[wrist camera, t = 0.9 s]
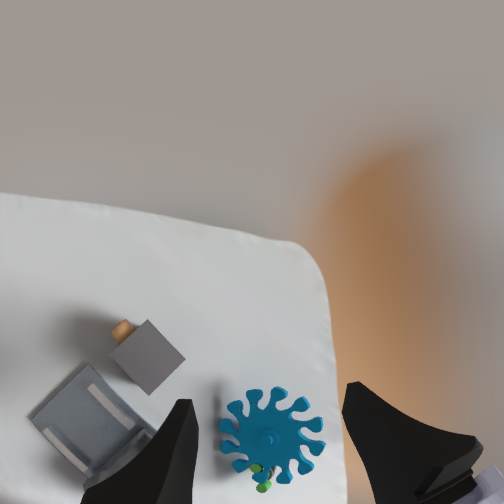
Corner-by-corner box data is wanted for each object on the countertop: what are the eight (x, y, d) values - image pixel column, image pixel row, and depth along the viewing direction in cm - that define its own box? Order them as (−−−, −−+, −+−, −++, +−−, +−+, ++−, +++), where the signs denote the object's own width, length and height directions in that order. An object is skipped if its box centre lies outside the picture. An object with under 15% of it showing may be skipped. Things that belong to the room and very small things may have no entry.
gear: (225, 376, 24) (335, 398, 20) (250, 374, 29) (341, 390, 25) (205, 476, 21) (305, 507, 17) (232, 460, 26) (317, 483, 22)
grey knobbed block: (145, 387, 23) (148, 395, 17) (106, 345, 22) (98, 342, 17) (174, 358, 25) (185, 359, 20) (136, 317, 25) (136, 306, 19)
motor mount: (127, 504, 17) (129, 539, 11) (32, 419, 16) (5, 434, 11) (184, 452, 21) (200, 478, 16) (89, 363, 21) (74, 366, 15)
